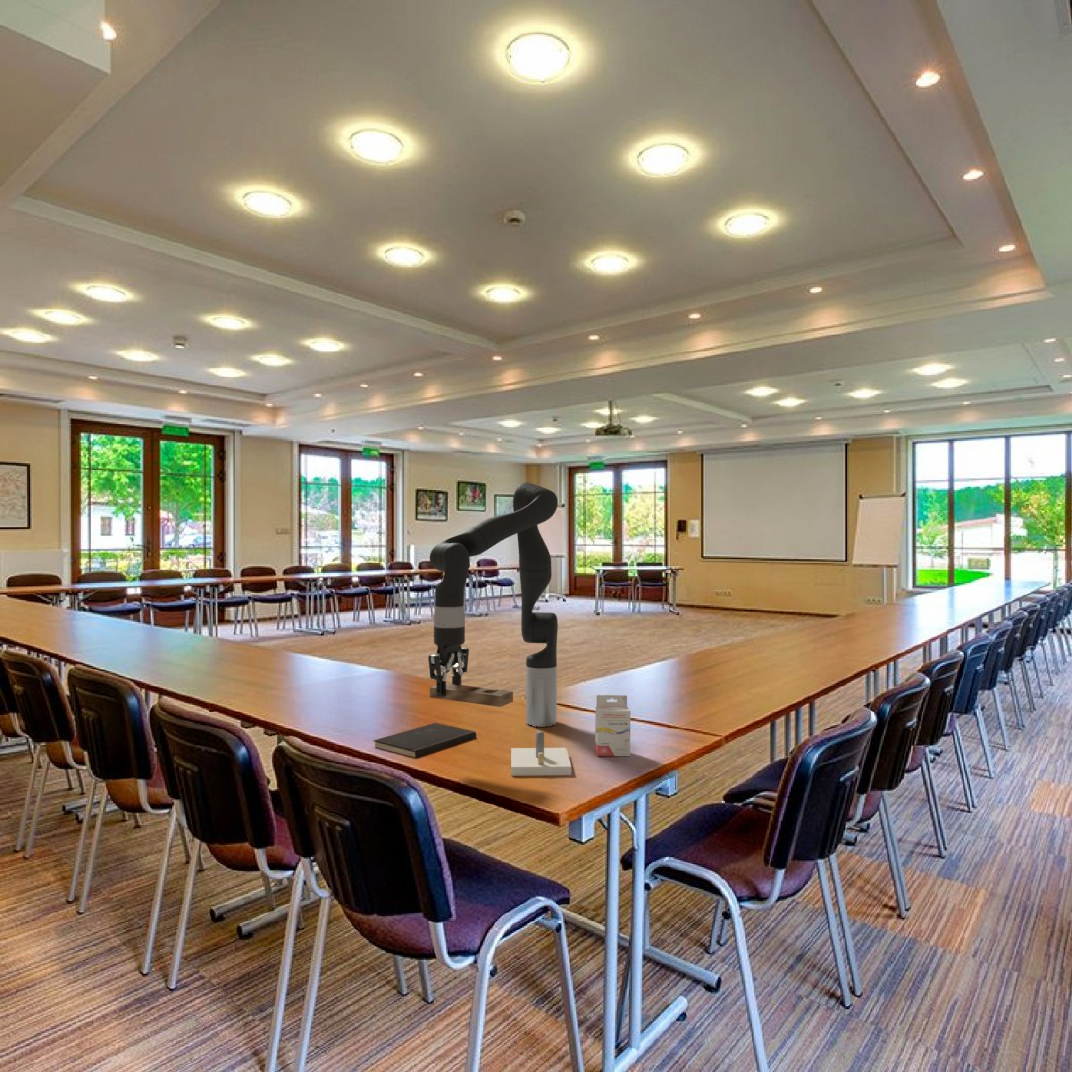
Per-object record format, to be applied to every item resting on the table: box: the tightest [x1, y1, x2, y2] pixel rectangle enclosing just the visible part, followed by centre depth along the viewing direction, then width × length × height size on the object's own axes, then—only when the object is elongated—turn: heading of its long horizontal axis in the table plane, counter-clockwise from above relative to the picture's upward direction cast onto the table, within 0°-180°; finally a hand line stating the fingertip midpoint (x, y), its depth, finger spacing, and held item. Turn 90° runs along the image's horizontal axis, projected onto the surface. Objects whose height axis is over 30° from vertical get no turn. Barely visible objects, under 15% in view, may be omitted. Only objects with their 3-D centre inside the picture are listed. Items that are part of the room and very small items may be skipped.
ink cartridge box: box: [594, 694, 631, 757], centre depth 178 cm, size 9×5×15 cm, turn 92°
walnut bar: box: [429, 682, 514, 708], centre depth 166 cm, size 20×6×2 cm, turn 62°
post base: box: [510, 730, 572, 777], centre depth 169 cm, size 15×14×8 cm
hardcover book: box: [373, 722, 477, 759], centre depth 188 cm, size 16×23×2 cm
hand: (449, 693), depth 169 cm, fingers closed on walnut bar, 5 cm apart
